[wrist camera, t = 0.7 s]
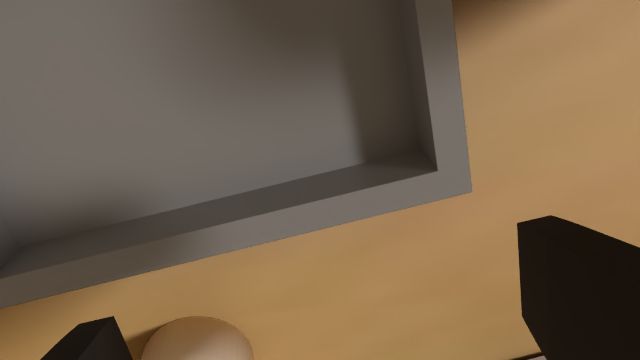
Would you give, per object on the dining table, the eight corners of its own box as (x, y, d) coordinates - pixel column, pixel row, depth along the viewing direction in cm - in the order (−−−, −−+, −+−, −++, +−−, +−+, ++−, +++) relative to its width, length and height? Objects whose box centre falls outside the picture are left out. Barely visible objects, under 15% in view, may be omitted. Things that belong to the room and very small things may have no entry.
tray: (445, 162, 19) (472, 192, 17) (10, 269, 19) (-26, 314, 16) (399, -197, 15) (427, -226, 12) (-172, -64, 14) (-257, -68, 12)
